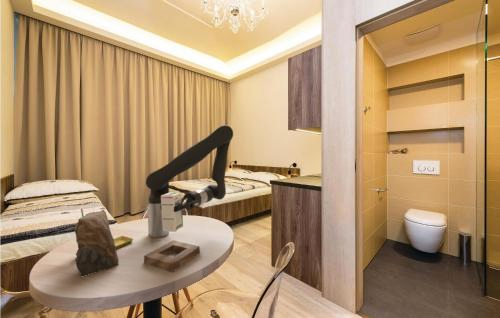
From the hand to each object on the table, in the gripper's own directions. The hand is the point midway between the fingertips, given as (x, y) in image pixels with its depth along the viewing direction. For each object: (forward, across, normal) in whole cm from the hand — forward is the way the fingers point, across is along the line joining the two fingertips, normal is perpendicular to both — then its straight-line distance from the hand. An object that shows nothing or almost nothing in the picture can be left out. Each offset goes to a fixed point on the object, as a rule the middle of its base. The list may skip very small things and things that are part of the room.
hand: (167, 208), depth 81 cm
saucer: (-1, -33, +21) cm, 40 cm away
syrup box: (-2, 0, +9) cm, 9 cm away
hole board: (-2, 0, +21) cm, 21 cm away
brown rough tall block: (+14, -21, +21) cm, 33 cm away
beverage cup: (+11, -36, +21) cm, 43 cm away
